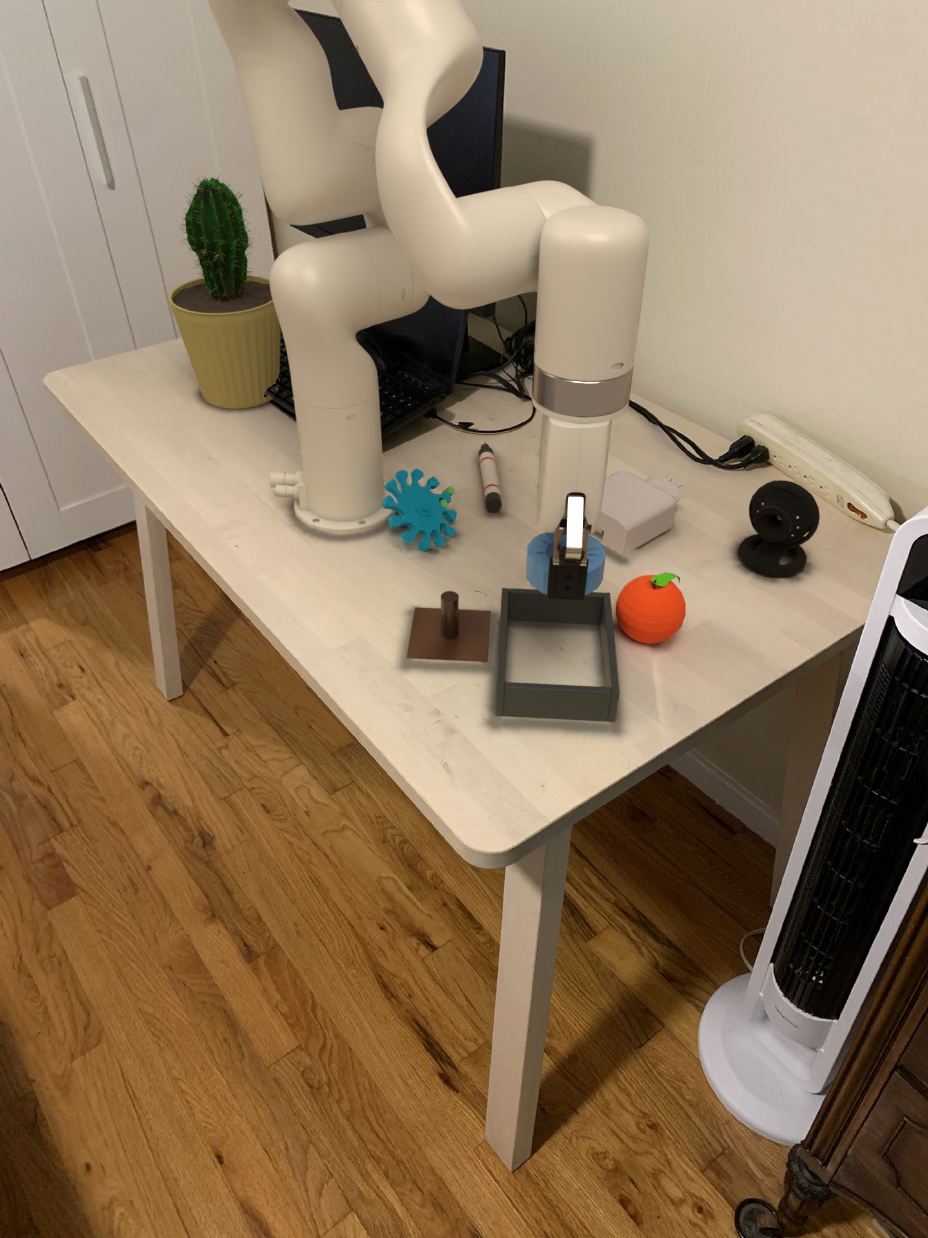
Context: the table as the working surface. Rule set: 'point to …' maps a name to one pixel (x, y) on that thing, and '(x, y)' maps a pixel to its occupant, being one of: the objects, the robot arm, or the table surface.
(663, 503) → the charger
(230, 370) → the potted cactus
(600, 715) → the bin
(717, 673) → the table surface
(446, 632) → the peg stand
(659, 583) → the clementine
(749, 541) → the webcam
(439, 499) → the teal lobed piece
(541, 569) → the tape roll
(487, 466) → the marker
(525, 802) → the table surface
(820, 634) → the table surface
